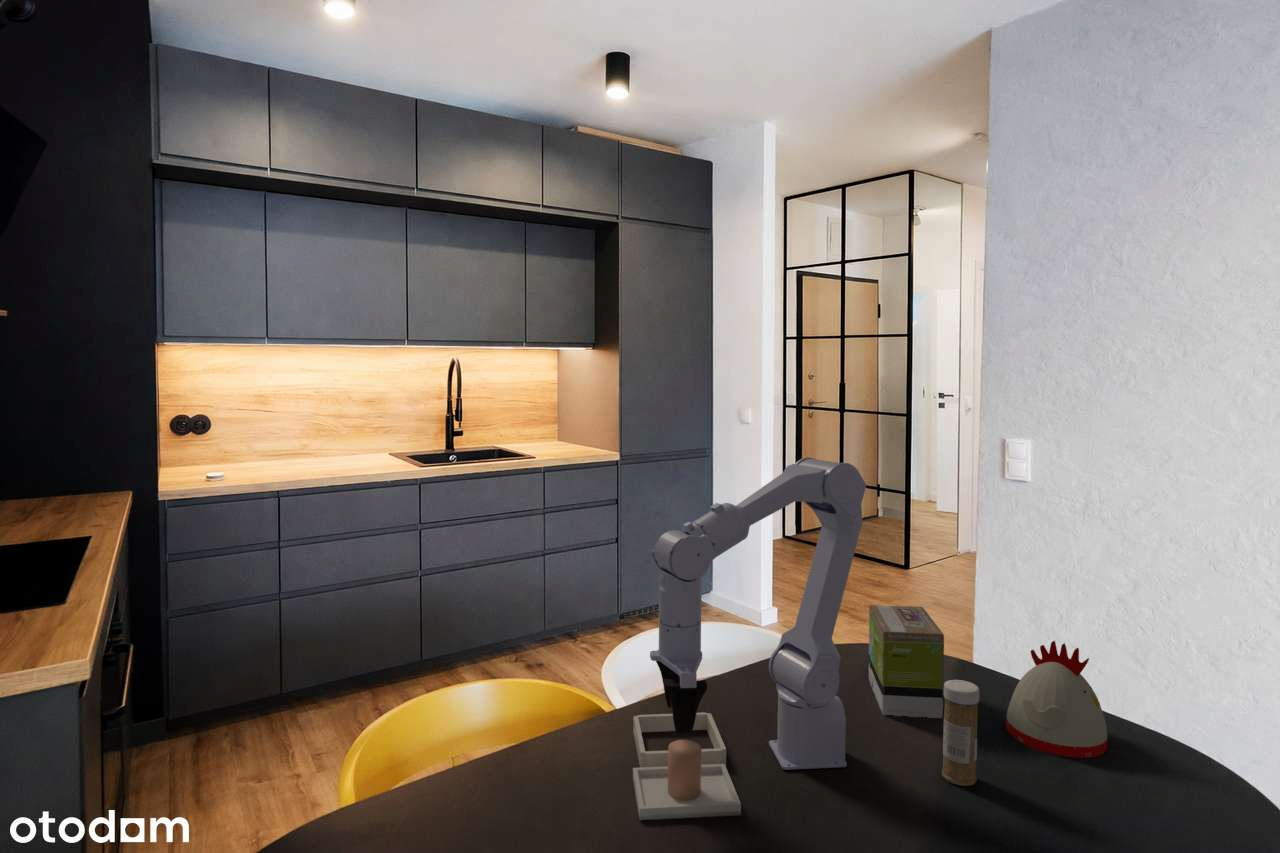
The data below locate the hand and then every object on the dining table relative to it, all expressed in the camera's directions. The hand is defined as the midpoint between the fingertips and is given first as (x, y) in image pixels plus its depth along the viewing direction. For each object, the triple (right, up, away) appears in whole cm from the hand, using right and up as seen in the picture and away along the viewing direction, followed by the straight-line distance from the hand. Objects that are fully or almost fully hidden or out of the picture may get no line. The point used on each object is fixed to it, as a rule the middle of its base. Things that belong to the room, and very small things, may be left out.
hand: (679, 718), depth 101 cm
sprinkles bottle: (+39, -10, +3) cm, 41 cm away
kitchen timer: (+60, -9, +16) cm, 63 cm away
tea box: (+41, -8, +29) cm, 51 cm away
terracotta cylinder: (+1, -9, -2) cm, 9 cm away
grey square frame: (0, -9, +11) cm, 14 cm away
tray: (+1, -10, -2) cm, 10 cm away
